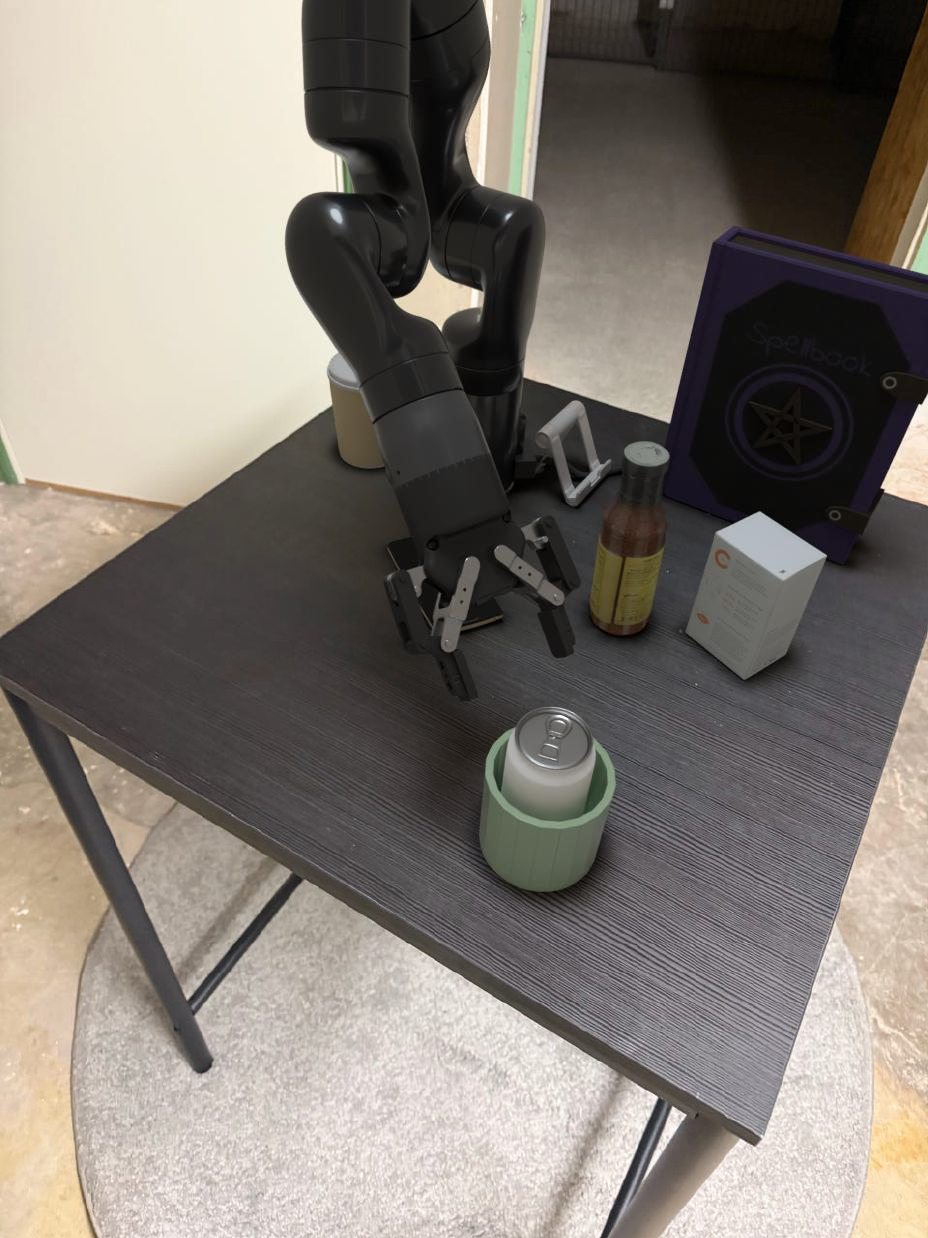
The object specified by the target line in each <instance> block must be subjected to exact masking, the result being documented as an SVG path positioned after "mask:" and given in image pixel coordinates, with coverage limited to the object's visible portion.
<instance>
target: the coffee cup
mask: <svg viewBox="0 0 928 1238" xmlns="http://www.w3.org/2000/svg"><path fill="white" fill-rule="evenodd" d="M326 376H327V379H328V382H329V383H328V384H329V390H330V398H331V404H332V412H333V419H334V426H335V432H336V438H337V445H338V451H339V454H340V457H341V459H342V460H343V461H344V462H345V463H347V464H348V465H350V466H353V467H356V468H360V469H361V468H362V469H380V468H385V466H384V464H383V461H382V458H381V455H380V451H379V447H378V442H377V438H376V434H375V431H374V427H373V424H372V422H371V419H370V416H369V414H368V411H367V408H366V406H365V403H364V400H363V398H362V395H361V392H360V389H359V387H358V384H357V381H356V379H355V376H354V374H353V372H352V370H351V368H350V367H349V366H348V364H347V363H346V361H345V360H344V359H343V357H342V356H341V355H340V354H339V352H338V351H337V353H335V354H334V355H333V356H332V357H331V358H330V359H329V362H328V365H327V366H326Z"/></svg>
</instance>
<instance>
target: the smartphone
mask: <svg viewBox="0 0 928 1238" xmlns="http://www.w3.org/2000/svg"><path fill="white" fill-rule="evenodd" d="M386 547H387V552H388V553H389V556H390V557H391V559H392V561H393V563H394V564H395V565H394V566H395V567H396V568H397V571H398V570H410V569H413V568H416V567H419V554H418V551H417V549H416V547H415V545H414V543H413V541H412V538H411V536H407V537H403V538H400V539H395V540H392V541H389V542H387V543H386ZM421 589H422V592H421V595H420V596H419V597H418V601H419V604H420V608H421V611H422V614H423V617H424V618H425V620H426V621H427V623H428V624H429V626H430V628H432V627H433V623H434V620H433V613H434V609H435V605H436V601H437V597H438V593H439V592H438V591H436V590H435V589H434V588H432V587H431V586H429V585H428V584H427V583H425V582H424V581H422V583H421ZM444 607H445V606H444ZM503 617H504V611H503V609H502V607H501V606H500V604H499V603H498V601H497V600H496V599H495V597H492V598H491V599H489V600H488V601H487V602H485V603H482V604H480V605H478V606H473V607H469V609H468V613H467V616H466V619H465V621H464V622H463V623H462V626H461V630H460V632H461V631H465V630H470V629H473V628H476V627H481V626H483V625H486V624H489V623H492V622H495V621H497V620H499V619H502V618H503Z"/></svg>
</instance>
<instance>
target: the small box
mask: <svg viewBox="0 0 928 1238" xmlns="http://www.w3.org/2000/svg"><path fill="white" fill-rule="evenodd" d="M826 557H827V555H826V554H824V553H822V552H821V551H819V550H818V549H816V548H815V547H813V546H812V545H810V544H809V543H807V542H806V541H804V540H803V539H801V538H799V537H798V536H796V535H795V534H793V533H792V532H790V531H789V530H787V529H786V528H784V527H783V526H781V525H780V524H778V523H777V522H775V521H774V520H772V519H771V518H769V517H767V516H766V515H765V514H763V513H762V512H757V513H755V514H753V515H751V516H749V517H747V518H745V519H743V520H741V521H739V522H737V523H733V524H731V525H729V526H726V527H724V528H722V529H720V530H718V531H717V530H716V531H715V533H714V537H713V540H712V544H711V546H710V551H709V553H708V556H707V560H706V563H705V566H704V570H703V573H702V575H701V579H700V582H699V586H698V589H697V592H696V595H695V599H694V603H693V605H692V608H691V611H690V615H689V619H688V622H687V625H686V629H685V634H686V635H688V636H689V637H690V638H691V639H693V640H694V641H695V642H696V643H698V644H699V645H700V646H701V647H703V648H704V649H705V650H706V651H708V652H709V653H710V654H711V655H712V656H713V657H715V658H716V659H717V660H719V661H720V662H721V663H722V664H724V665H725V666H726V667H727V668H728V669H729V670H731V671H732V672H733V673H735V674H736V675H737V676H738V677H739V678H741V679H742V680H744V681H746V680H747V679H749V678H750V677H751V678H752V676H754V675H755V674H757V673H758V672H760V671H763V669H765V668H767V667H768V666H770V665H771V664H773V663H775V662H777V661H778V660H779V659H781V658H783V657H784V656H786V655H787V652H788V651H789V648H790V646H791V643H792V641H793V638H794V636H795V634H796V632H797V629H798V627H799V625H800V623H801V620H802V617H803V615H804V612H805V610H806V607H807V605H808V603H809V601H810V598H811V597H812V594H813V591H814V589H815V588H816V587H815V586H816V583H817V581H818V579H819V576H820V574H821V573H822V569H823V567H824V565H825V562H826V560H827V559H826Z"/></svg>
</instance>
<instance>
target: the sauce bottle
mask: <svg viewBox="0 0 928 1238" xmlns="http://www.w3.org/2000/svg"><path fill="white" fill-rule="evenodd" d="M669 459H670V455H669V453H668V451H667V450H666V449H665V448H664V446H662V445H661V444H658V443H656V442H654V441H646V440H645V441H644V440H643V441H635V442H632V443H630V444H628V445H626V447H625V448H624V450H623V453H622V458H621V465H622V466H623V472H621V476H620V477H621V479H620V483H619V486H618V490H617V491H616V492H615V493H614V495H612V497H610V499H608V500H607V501H606V503H605V506H604V508H603V514H602V518H601V519H602V520H601V527H600V531H599V534H598V541H597V548H596V557H595V562H594V563H595V565H594V570H593V578H592V584H591V589H590V590H591V591H590V597H589V598H590V599H589V606H590V610H589V611H590V616H591V619H592V622H593V624H594V625H595V626H597V627H598V628H599V629H601V630H603V631H604V632H606V633H608V634H611V635H614V636H620V637H621V636H631V635H634V634H638V633H639V632H641V631H642V630H643V629H644V628H645V627H646V625H647V624H648V622H649V619H650V615H651V613H652V609H653V605H654V600H655V595H656V590H657V586H658V580H659V576H660V575H659V574H660V572H661V571H660V570H661V566H662V561H663V556H664V551H665V546H666V541H667V540H666V539H667V529H668V525H669V523H668V519H667V517H666V514H665V510H664V506H663V502H662V495H663V494H662V485H663V480H664V475H665V473H666V472H667V470H668V467H669Z"/></svg>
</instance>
